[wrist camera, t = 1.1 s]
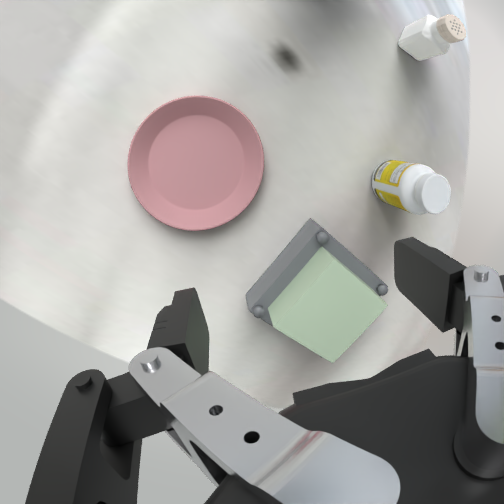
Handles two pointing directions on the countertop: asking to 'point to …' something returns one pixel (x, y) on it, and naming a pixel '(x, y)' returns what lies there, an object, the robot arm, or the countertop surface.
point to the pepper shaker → (431, 36)
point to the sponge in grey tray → (318, 293)
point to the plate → (195, 163)
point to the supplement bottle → (411, 187)
